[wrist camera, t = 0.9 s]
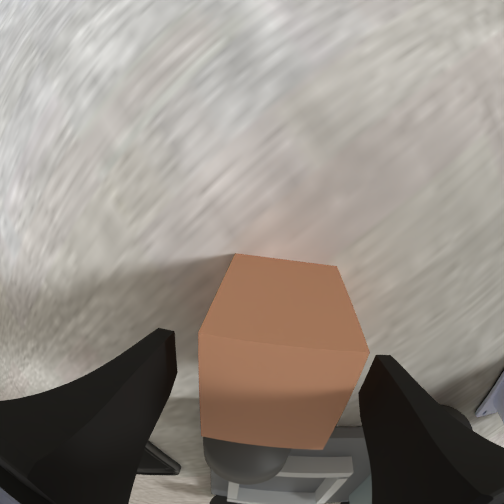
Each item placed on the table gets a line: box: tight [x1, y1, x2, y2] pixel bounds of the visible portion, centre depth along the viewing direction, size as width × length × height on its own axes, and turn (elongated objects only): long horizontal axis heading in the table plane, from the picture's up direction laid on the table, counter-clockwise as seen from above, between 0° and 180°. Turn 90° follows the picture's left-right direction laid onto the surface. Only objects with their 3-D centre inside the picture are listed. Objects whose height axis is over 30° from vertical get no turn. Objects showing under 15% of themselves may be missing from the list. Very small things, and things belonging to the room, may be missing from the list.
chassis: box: [203, 405, 473, 504], centre depth 16 cm, size 18×18×5 cm
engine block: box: [198, 253, 370, 450], centre depth 11 cm, size 4×5×6 cm
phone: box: [136, 441, 181, 475], centre depth 21 cm, size 8×1×15 cm
